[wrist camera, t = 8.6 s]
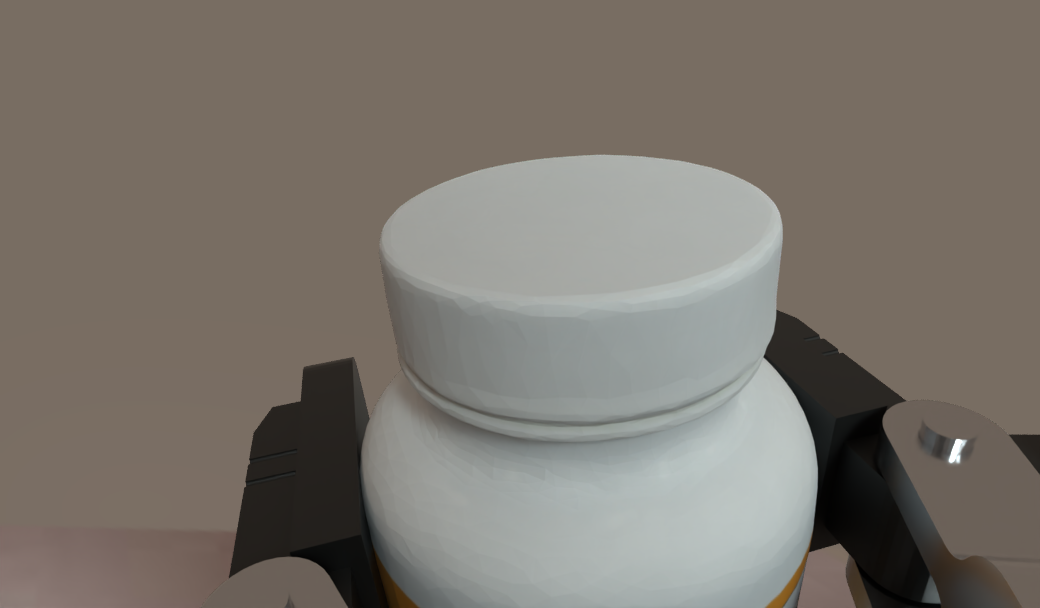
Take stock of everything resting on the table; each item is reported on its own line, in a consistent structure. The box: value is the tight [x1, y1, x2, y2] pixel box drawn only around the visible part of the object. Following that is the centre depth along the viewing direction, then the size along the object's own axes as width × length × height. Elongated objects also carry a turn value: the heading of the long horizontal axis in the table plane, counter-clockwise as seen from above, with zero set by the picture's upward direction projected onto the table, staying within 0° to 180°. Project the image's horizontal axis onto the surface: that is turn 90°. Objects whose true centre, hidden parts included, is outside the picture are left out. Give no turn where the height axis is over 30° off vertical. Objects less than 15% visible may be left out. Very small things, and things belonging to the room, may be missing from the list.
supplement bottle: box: [360, 155, 818, 608], centre depth 9 cm, size 5×5×10 cm
